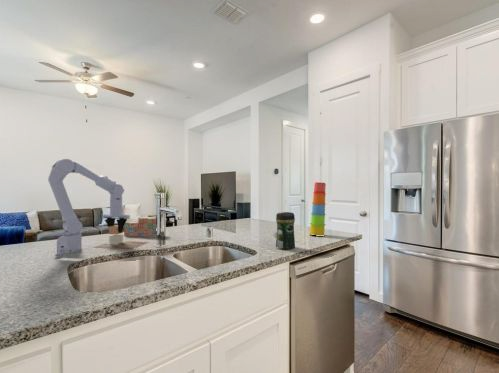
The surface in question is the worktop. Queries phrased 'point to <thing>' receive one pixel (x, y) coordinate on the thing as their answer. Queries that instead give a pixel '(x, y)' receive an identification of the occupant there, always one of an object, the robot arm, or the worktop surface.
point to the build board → (122, 245)
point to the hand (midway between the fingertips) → (116, 232)
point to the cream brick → (115, 239)
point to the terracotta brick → (114, 229)
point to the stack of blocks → (141, 227)
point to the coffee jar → (285, 230)
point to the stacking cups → (318, 209)
